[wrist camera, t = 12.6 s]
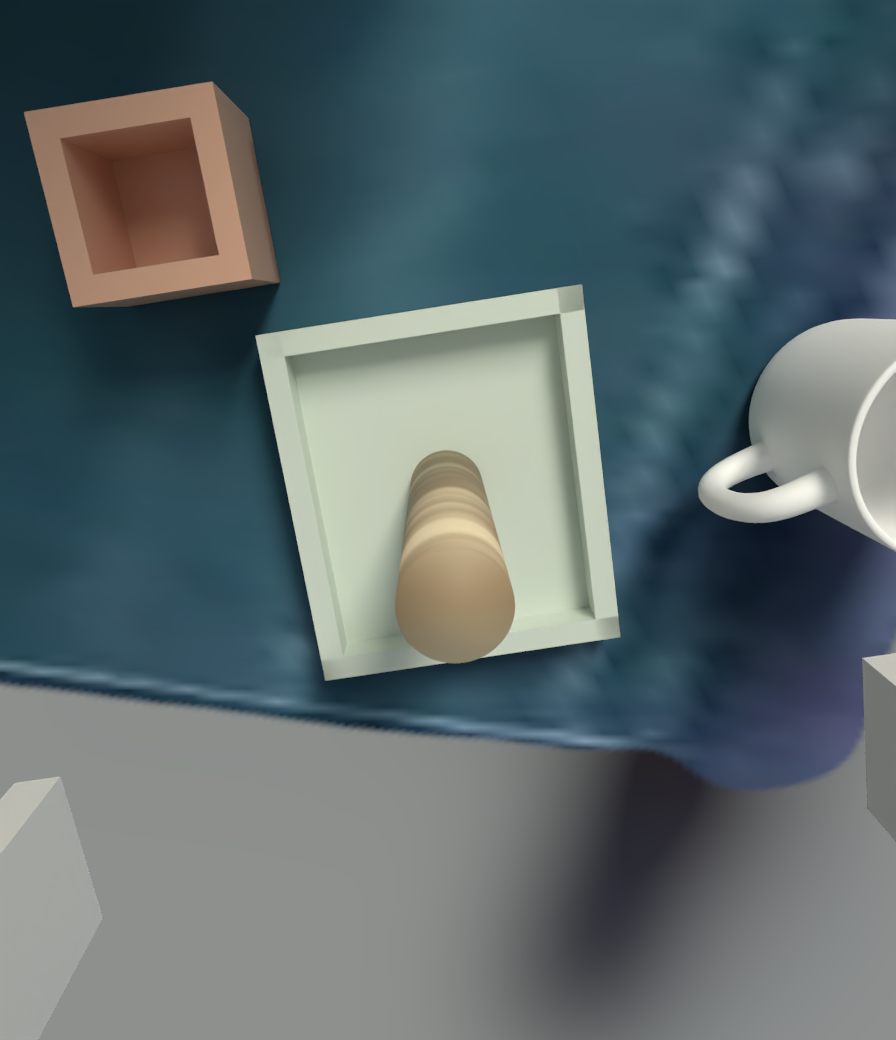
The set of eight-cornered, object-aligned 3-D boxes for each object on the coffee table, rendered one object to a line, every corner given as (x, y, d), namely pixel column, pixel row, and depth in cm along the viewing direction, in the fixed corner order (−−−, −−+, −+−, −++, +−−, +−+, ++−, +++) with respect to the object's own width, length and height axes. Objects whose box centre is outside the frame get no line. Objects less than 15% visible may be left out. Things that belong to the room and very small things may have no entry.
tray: (266, 333, 37) (255, 335, 35) (572, 285, 37) (581, 284, 35) (331, 658, 41) (325, 680, 39) (609, 617, 41) (620, 637, 38)
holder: (90, 143, 35) (23, 111, 30) (248, 118, 35) (212, 81, 29) (129, 306, 37) (72, 307, 31) (280, 282, 37) (251, 279, 31)
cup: (946, 460, 39) (1117, 513, 30) (698, 558, 40) (784, 640, 30) (898, 287, 37) (1065, 282, 28) (640, 394, 38) (711, 425, 29)
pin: (405, 456, 38) (385, 558, 23) (476, 445, 38) (507, 541, 22) (416, 525, 39) (405, 671, 23) (487, 514, 39) (522, 654, 23)
